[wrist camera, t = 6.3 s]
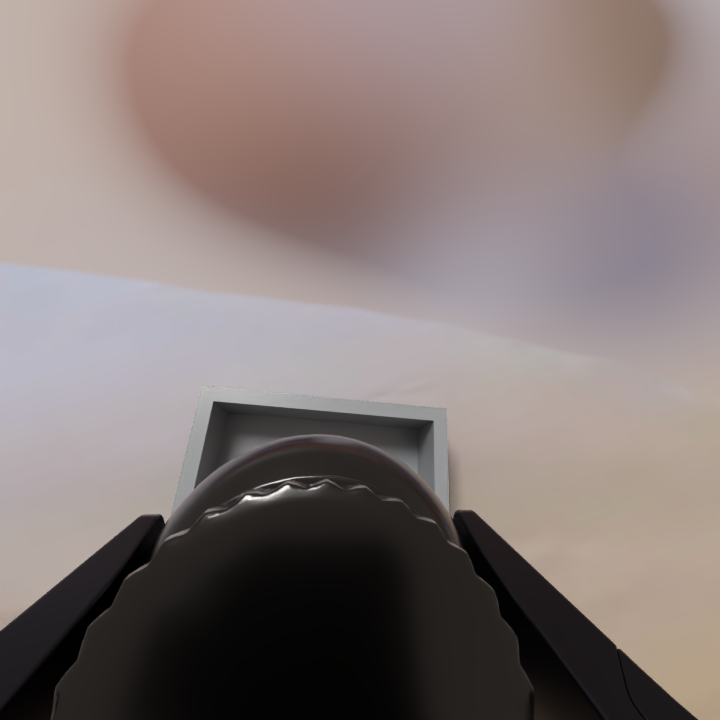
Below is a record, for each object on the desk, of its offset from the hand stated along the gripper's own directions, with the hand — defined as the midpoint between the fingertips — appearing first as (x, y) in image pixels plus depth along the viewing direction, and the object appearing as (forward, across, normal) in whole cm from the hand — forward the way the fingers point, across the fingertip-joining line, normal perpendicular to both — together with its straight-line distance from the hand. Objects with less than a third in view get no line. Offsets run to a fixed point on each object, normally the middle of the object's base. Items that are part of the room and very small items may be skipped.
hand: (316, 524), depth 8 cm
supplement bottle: (+4, 0, +6) cm, 7 cm away
